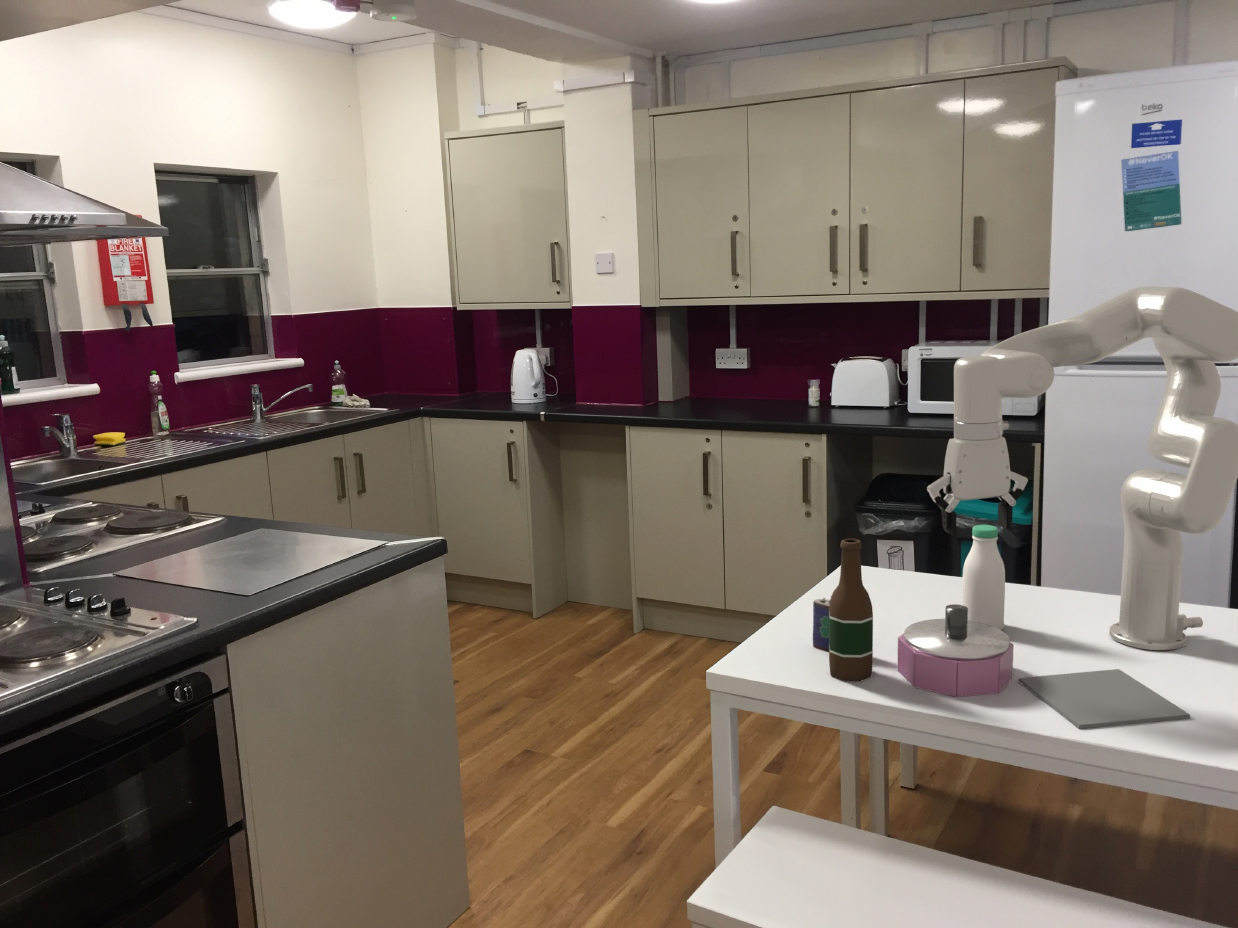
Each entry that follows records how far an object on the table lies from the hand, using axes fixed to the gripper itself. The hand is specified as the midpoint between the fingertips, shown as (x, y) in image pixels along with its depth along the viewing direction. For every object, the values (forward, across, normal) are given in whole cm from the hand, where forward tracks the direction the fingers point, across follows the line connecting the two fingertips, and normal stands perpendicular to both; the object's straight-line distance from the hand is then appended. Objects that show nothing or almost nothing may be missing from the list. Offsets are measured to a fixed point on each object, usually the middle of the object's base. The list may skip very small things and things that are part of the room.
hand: (977, 530), depth 171 cm
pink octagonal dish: (+25, +5, +2) cm, 25 cm away
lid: (+19, +5, +2) cm, 19 cm away
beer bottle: (+24, +22, -2) cm, 33 cm away
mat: (+25, -13, +16) cm, 32 cm away
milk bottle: (+25, -10, -18) cm, 33 cm away
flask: (+24, +21, -13) cm, 35 cm away
